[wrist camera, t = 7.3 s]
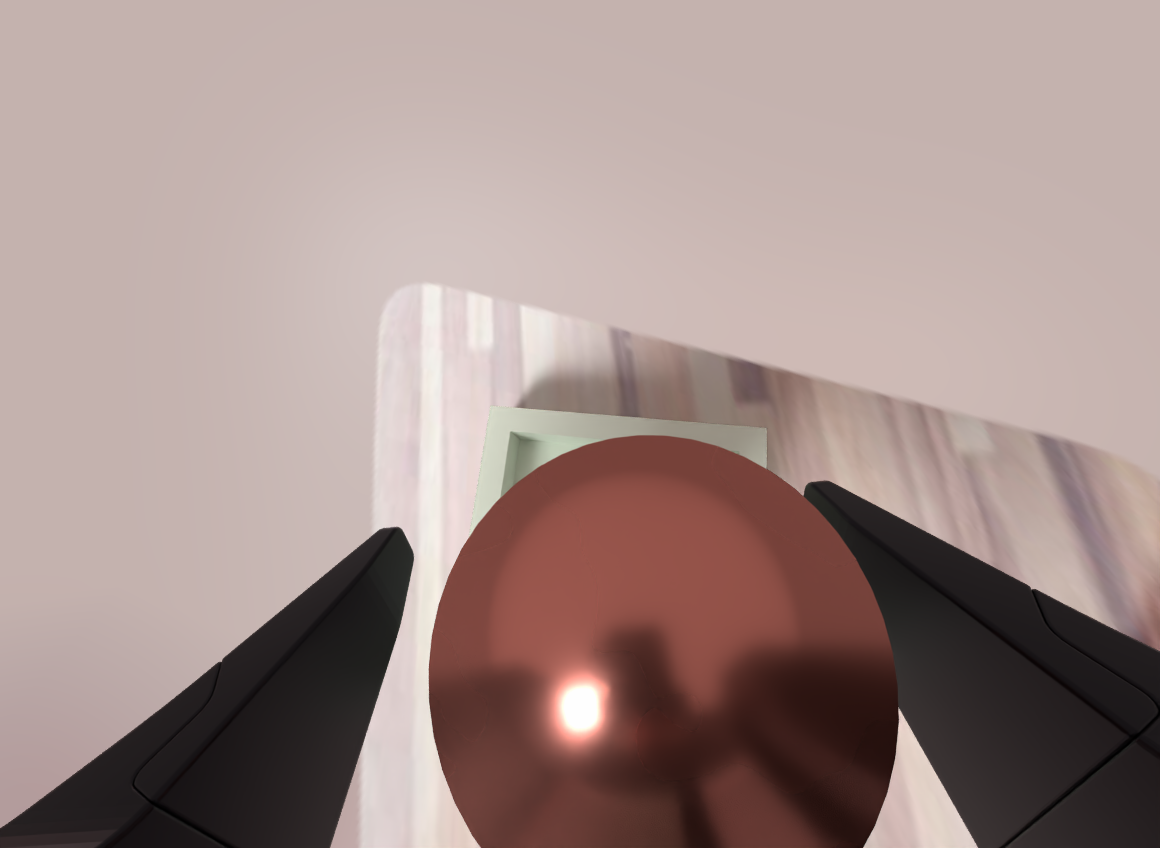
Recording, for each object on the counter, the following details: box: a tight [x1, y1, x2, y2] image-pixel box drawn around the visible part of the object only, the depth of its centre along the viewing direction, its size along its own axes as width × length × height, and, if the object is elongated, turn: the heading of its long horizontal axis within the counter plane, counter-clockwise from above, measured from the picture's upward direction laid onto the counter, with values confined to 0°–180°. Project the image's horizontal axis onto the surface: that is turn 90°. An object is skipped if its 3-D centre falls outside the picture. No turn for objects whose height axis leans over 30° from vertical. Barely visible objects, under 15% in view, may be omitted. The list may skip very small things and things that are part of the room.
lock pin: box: [429, 435, 899, 848], centre depth 10 cm, size 5×5×13 cm
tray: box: [469, 406, 767, 537], centre depth 16 cm, size 11×11×2 cm
